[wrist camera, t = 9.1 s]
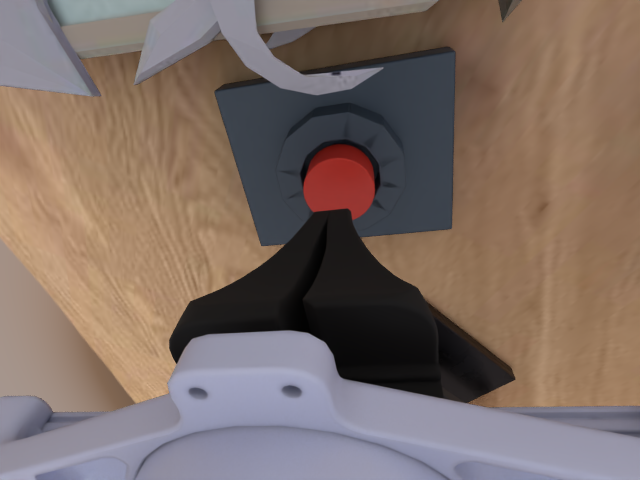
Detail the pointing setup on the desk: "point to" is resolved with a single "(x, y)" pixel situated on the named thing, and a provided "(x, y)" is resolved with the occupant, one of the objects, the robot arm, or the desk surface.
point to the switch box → (350, 143)
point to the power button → (340, 180)
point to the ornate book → (174, 36)
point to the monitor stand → (467, 362)
